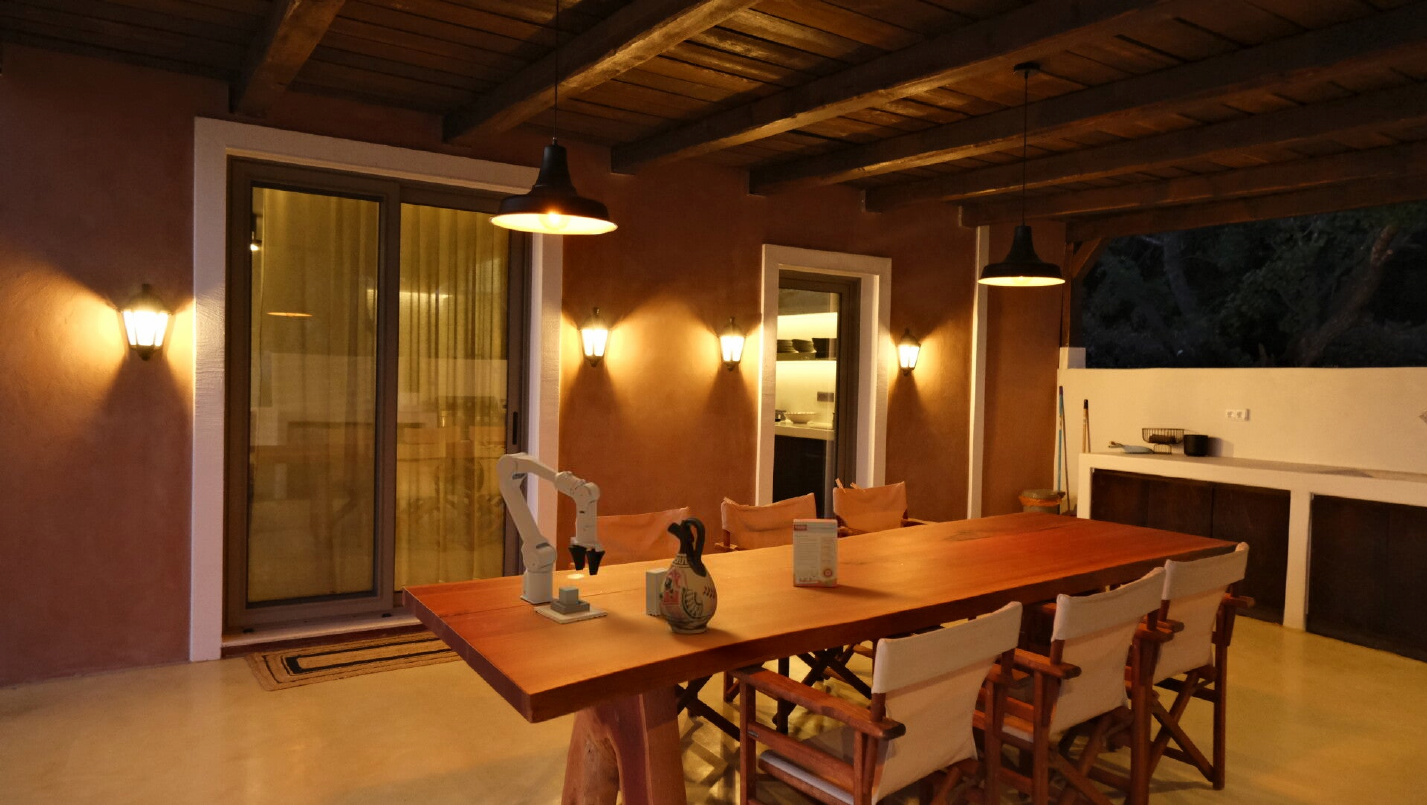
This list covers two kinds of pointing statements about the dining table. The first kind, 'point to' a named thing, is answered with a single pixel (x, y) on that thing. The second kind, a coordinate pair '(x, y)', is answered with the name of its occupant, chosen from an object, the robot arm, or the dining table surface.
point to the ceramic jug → (688, 583)
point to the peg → (568, 596)
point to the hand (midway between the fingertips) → (586, 572)
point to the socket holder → (569, 611)
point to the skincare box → (654, 590)
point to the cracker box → (815, 552)
